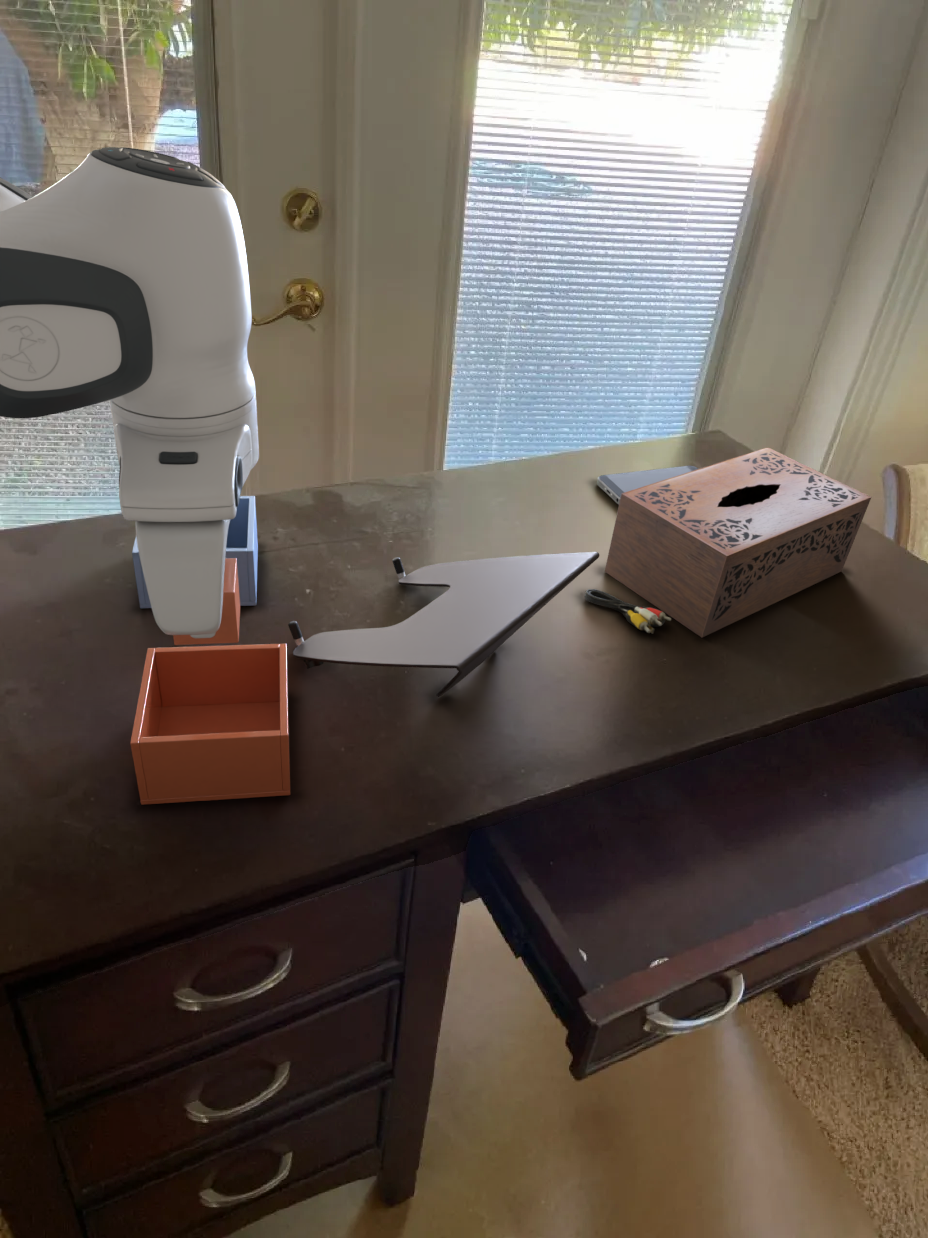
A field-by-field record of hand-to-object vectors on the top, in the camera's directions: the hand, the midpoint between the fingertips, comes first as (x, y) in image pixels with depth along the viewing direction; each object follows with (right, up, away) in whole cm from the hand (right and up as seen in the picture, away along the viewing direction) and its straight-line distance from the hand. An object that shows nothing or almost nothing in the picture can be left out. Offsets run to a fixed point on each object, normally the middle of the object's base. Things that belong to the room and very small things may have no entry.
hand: (206, 608), depth 65 cm
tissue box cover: (+49, +5, +39) cm, 63 cm away
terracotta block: (0, -1, +1) cm, 2 cm away
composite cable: (+36, 0, +29) cm, 47 cm away
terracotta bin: (-1, -11, +8) cm, 14 cm away
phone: (+45, +17, +54) cm, 72 cm away
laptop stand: (+15, -4, +21) cm, 27 cm away
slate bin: (-9, +4, +28) cm, 30 cm away
